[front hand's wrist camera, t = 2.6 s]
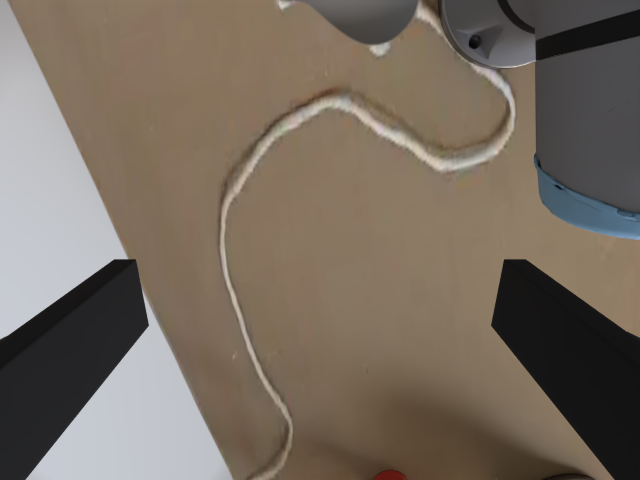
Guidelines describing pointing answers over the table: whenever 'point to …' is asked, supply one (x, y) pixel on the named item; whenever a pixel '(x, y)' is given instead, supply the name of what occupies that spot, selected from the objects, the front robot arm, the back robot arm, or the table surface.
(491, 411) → the table surface
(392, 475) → the cylinder
